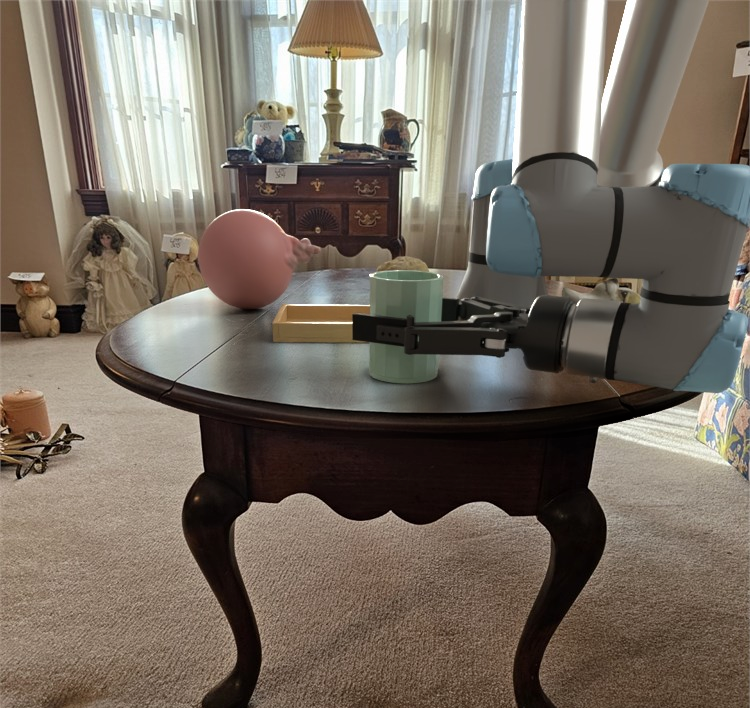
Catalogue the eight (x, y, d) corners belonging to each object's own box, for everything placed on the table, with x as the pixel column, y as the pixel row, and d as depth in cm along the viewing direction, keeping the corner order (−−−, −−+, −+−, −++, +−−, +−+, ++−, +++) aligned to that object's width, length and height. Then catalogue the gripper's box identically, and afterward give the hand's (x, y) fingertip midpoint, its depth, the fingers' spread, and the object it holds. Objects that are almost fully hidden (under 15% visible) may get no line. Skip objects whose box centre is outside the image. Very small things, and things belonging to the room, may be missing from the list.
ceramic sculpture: (551, 269, 92) (650, 275, 94) (540, 330, 96) (635, 335, 98) (581, 281, 83) (690, 288, 85) (567, 349, 87) (671, 354, 89)
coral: (437, 306, 114) (439, 260, 110) (386, 308, 111) (387, 261, 108) (419, 297, 122) (421, 254, 118) (371, 299, 119) (372, 255, 116)
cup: (433, 364, 80) (438, 270, 75) (441, 383, 73) (447, 281, 68) (368, 364, 80) (369, 269, 75) (370, 383, 73) (370, 280, 68)
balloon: (314, 319, 103) (311, 213, 96) (190, 316, 104) (178, 211, 97) (328, 302, 117) (327, 208, 110) (219, 299, 118) (210, 206, 111)
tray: (395, 322, 102) (396, 305, 101) (401, 342, 90) (401, 323, 89) (282, 321, 102) (281, 304, 100) (273, 342, 89) (272, 323, 88)
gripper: (533, 407, 58) (327, 374, 66) (588, 347, 78) (424, 327, 86) (544, 321, 54) (325, 298, 63) (599, 281, 74) (427, 268, 83)
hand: (382, 315), depth 75 cm, fingers open, 13 cm apart
